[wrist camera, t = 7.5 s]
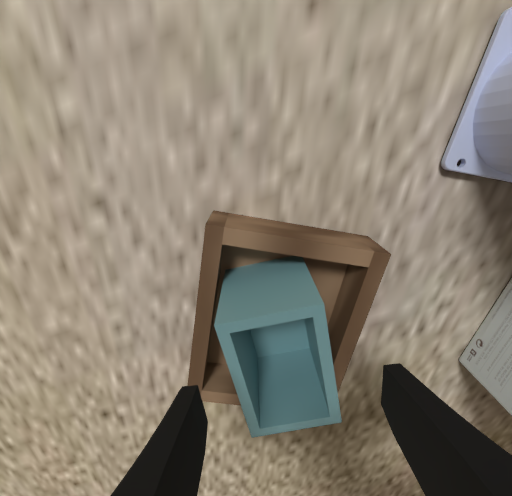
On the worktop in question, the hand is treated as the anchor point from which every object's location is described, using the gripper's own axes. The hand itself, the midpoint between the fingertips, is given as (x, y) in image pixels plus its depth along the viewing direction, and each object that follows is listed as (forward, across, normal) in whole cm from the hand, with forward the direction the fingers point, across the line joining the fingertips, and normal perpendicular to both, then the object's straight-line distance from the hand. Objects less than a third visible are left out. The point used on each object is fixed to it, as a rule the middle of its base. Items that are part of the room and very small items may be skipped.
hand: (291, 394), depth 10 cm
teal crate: (+9, 0, +2) cm, 9 cm away
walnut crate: (+9, 0, +2) cm, 10 cm away
